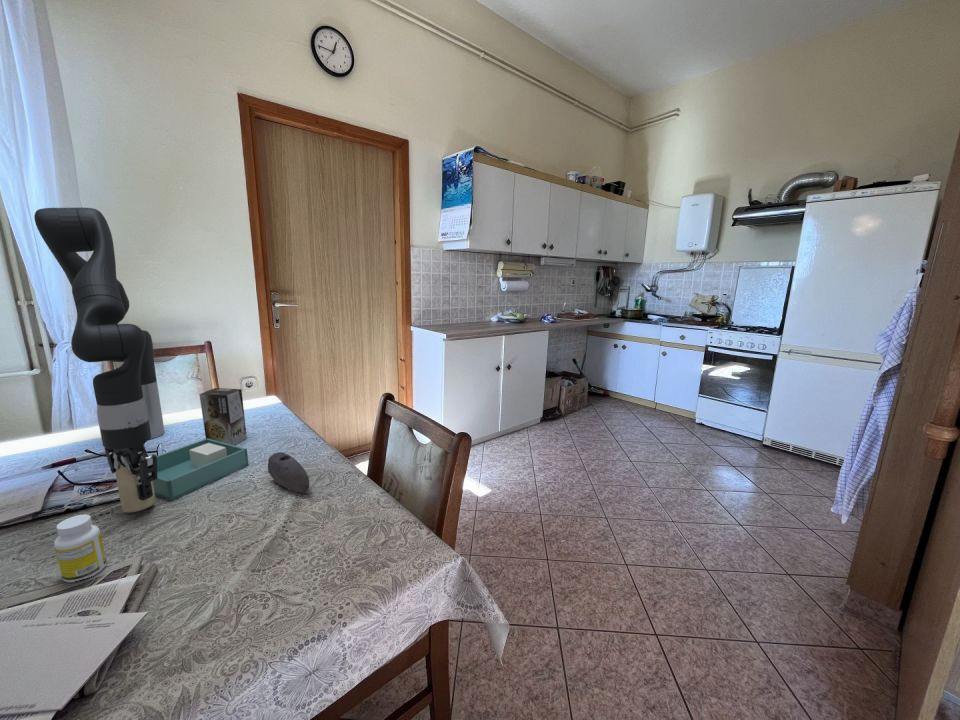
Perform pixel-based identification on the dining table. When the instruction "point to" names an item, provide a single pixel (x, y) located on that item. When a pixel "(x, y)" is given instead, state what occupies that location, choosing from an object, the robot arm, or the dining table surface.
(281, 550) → the dining table surface
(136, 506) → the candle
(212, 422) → the coffee box
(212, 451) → the white box
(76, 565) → the supplement bottle
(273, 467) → the perforated stone tool
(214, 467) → the tote
